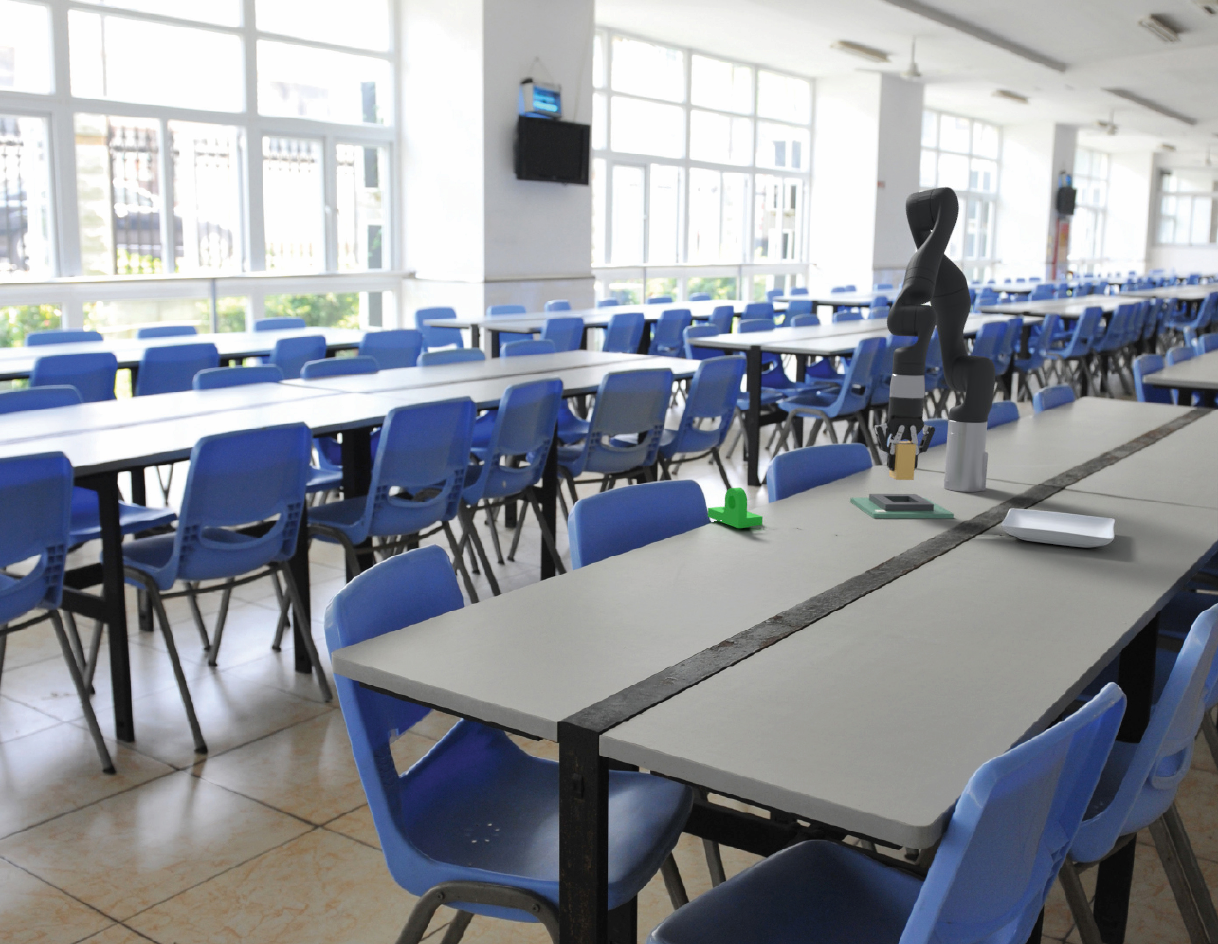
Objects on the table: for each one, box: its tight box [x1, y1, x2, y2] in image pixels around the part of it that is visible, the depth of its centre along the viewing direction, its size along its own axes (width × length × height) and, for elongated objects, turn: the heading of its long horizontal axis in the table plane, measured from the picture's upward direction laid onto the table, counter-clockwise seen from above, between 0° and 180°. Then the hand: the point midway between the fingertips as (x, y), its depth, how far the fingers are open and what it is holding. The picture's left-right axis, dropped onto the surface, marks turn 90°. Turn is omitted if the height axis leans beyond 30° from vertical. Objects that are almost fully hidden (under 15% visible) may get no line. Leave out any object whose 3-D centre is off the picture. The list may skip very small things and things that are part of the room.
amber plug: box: [888, 440, 916, 481], centre depth 254 cm, size 4×5×8 cm
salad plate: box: [1000, 507, 1116, 548], centre depth 233 cm, size 21×21×3 cm
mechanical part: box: [707, 487, 763, 529], centre depth 241 cm, size 12×6×8 cm, turn 27°
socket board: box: [849, 493, 955, 519], centre depth 255 cm, size 18×18×2 cm
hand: (901, 470), depth 254 cm, fingers closed on amber plug, 4 cm apart
